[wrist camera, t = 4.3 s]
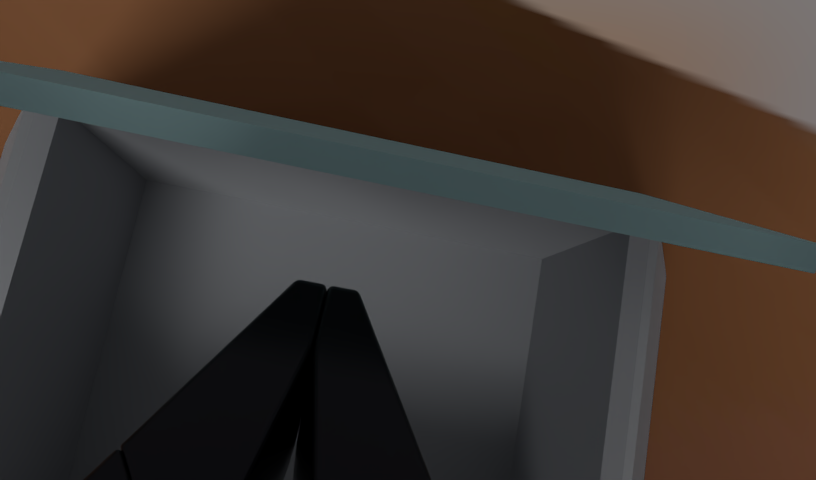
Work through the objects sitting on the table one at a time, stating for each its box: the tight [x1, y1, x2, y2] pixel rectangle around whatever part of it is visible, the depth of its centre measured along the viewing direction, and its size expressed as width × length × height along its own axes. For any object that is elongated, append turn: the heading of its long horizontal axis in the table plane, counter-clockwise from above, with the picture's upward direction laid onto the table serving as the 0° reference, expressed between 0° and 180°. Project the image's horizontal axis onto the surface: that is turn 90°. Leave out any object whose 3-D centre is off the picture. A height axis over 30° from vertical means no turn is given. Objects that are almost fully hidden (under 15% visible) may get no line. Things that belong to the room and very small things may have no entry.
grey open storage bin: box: [0, 110, 666, 480], centre depth 16 cm, size 15×20×7 cm
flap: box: [0, 61, 816, 274], centre depth 11 cm, size 6×13×1 cm
